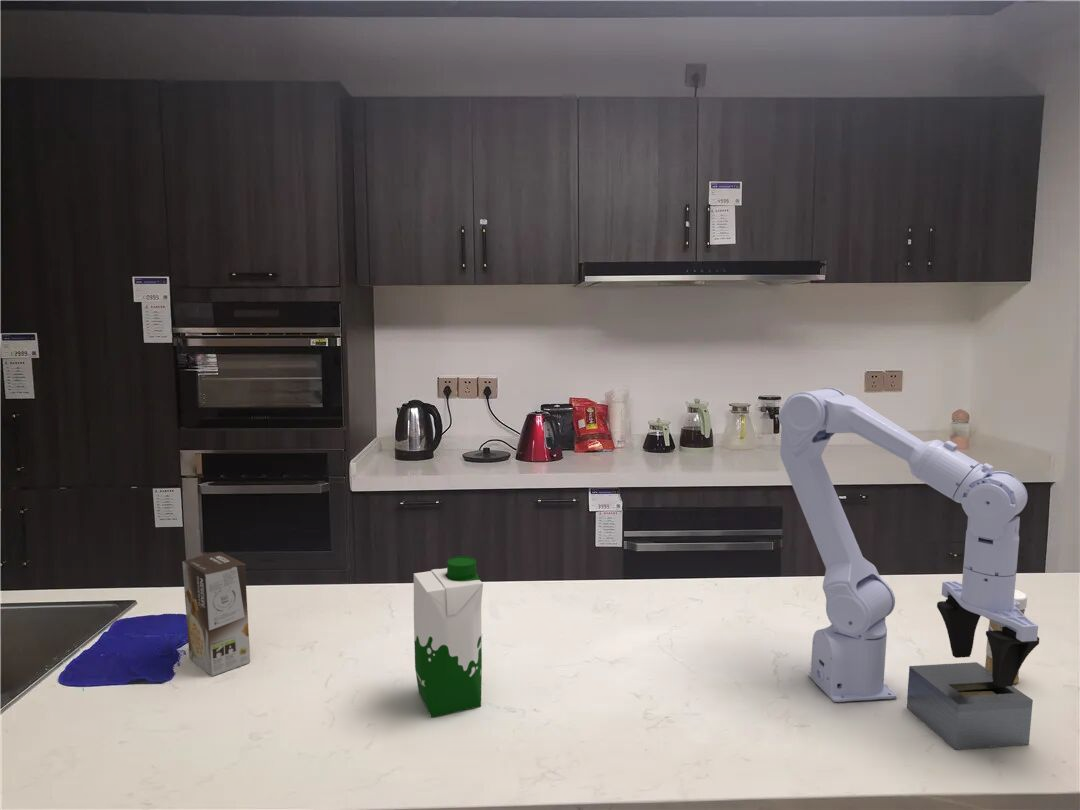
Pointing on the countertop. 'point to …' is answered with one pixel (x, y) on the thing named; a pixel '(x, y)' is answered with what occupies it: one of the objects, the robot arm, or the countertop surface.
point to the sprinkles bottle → (993, 626)
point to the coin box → (968, 706)
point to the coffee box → (216, 612)
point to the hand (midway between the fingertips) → (981, 670)
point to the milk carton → (448, 636)
